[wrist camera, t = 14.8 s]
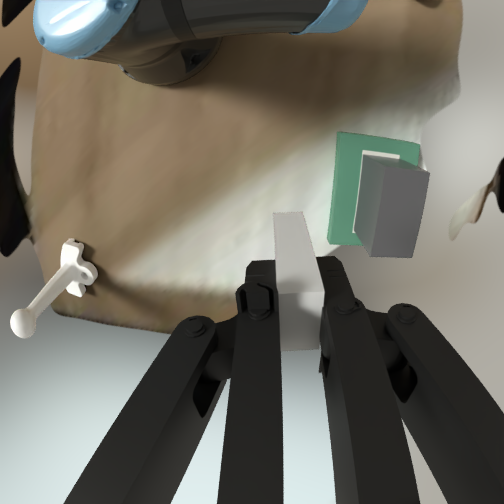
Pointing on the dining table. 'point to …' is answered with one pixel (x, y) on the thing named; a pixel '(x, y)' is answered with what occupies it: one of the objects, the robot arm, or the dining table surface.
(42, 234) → the dining table surface
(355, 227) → the block
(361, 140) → the board
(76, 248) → the joystick
